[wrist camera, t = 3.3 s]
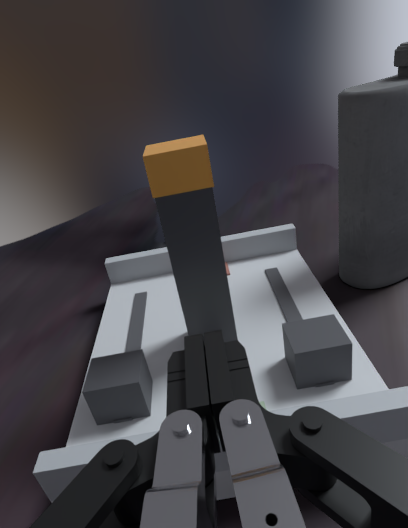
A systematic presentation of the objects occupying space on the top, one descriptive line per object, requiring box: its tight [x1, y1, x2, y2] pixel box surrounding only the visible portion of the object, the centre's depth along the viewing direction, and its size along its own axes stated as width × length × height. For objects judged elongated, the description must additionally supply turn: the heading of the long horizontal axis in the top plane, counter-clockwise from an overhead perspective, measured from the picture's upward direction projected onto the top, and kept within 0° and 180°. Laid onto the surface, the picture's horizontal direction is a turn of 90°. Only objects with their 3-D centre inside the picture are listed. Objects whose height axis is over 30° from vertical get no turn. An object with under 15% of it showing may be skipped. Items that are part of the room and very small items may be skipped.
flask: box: [338, 42, 408, 289], centre depth 35 cm, size 15×6×20 cm, turn 124°
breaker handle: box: [143, 135, 238, 342], centre depth 26 cm, size 3×4×14 cm
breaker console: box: [33, 224, 408, 503], centre depth 31 cm, size 24×20×6 cm
